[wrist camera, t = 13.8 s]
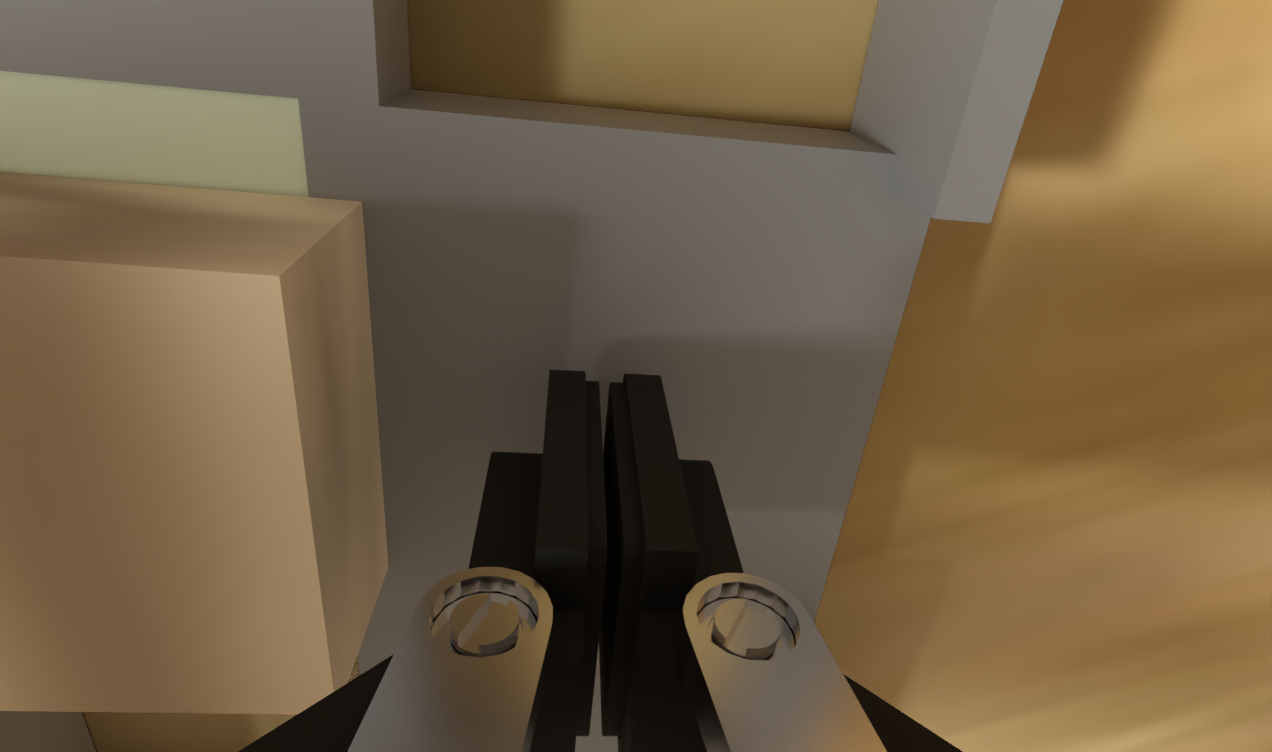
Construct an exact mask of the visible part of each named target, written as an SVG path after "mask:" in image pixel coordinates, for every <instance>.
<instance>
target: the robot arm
mask: <svg viewBox="0 0 1272 752" xmlns="http://www.w3.org/2000/svg"><path fill="white" fill-rule="evenodd" d="M598 645H599V662H600V695H601V726H602V736H617V738H618V752H962V751H961V750H959V749H958V748H956V747H954V746H953V745H951V744H950V743H948V742H947V741H945V740H944V739H942V738H941V737H939V736H938V735H936V734H934V733H933V732H931V731H930V730H928V729H927V728H925V727H924V726H922V725H921V724H919V723H918V722H916V721H914V720H913V719H911V718H910V717H908V716H907V715H905V714H904V713H902V712H901V711H899V710H898V709H896V708H894V707H893V706H891V705H890V704H888V703H887V702H885V701H884V700H882V699H881V698H879V697H878V696H876V695H874V694H873V693H871V692H870V691H868V690H867V689H865V688H864V687H862V686H861V685H859V684H858V683H856V682H855V681H853V680H851V679H850V678H848V677H847V676H845V675H844V674H843V673H842V671H841V669H840V668H839V666H838V664H837V662H836V661H835V659H834V657H833V655H832V653H831V652H830V650H829V648H828V646H827V645H826V643H825V641H824V639H823V638H822V636H821V634H820V632H819V630H818V629H817V627H816V625H815V623H814V622H813V620H812V618H811V616H810V615H809V613H808V611H807V610H806V609H805V608H804V606H803V605H802V604H801V602H800V601H799V600H798V599H797V598H796V597H795V596H794V595H792V594H791V593H790V592H789V591H787V590H786V589H785V588H783V587H782V586H780V585H778V584H776V583H774V582H772V581H770V580H768V579H765V578H762V577H758V576H754V575H750V574H746V573H744V572H743V568H742V565H741V562H740V558H739V555H738V551H737V548H736V544H735V541H734V537H733V534H732V530H731V527H730V523H729V520H728V516H727V513H726V509H725V506H724V502H723V499H722V495H721V492H720V488H719V485H718V481H717V478H716V474H715V471H714V468H713V465H712V463H711V462H710V461H708V460H684V459H679V457H678V453H677V448H676V444H675V439H674V434H673V430H672V425H671V421H670V416H669V411H668V407H667V402H666V397H665V393H664V388H663V384H662V379H661V376H660V375H644V374H625V373H624V377H623V383H620V382H610V385H609V393H608V404H607V415H606V426H605V437H604V448H603V445H602V426H601V407H600V388H599V381H586V374H585V371H570V370H552V369H550V370H549V382H548V395H547V407H546V420H545V433H544V445H543V454H541V453H517V452H492V453H491V456H490V460H489V465H488V471H487V476H486V481H485V486H484V491H483V496H482V502H481V507H480V512H479V517H478V522H477V527H476V532H475V538H474V543H473V548H472V553H471V558H470V563H469V568H468V569H467V570H462V571H459V572H457V573H455V574H452V575H450V576H448V577H446V578H443V579H442V580H441V581H439V582H438V583H437V584H435V585H434V586H433V587H431V588H430V589H429V590H428V591H427V592H426V594H425V595H424V596H423V598H422V599H421V601H420V602H419V603H418V605H417V607H416V609H415V611H414V613H413V615H412V617H411V619H410V622H409V624H408V626H407V628H406V630H405V632H404V634H403V636H402V638H401V640H400V642H399V645H398V647H397V649H396V651H395V653H394V654H393V655H391V656H390V657H388V658H387V659H385V660H384V661H382V662H380V663H379V664H377V665H376V666H374V667H372V668H371V669H369V670H368V671H366V672H364V673H363V674H361V675H360V676H358V677H356V678H355V679H353V680H352V681H350V682H349V683H347V684H345V685H344V686H342V687H341V688H339V689H337V690H336V691H334V692H333V693H331V694H329V695H328V696H326V697H325V698H323V699H321V700H320V701H318V702H317V703H315V704H314V705H312V706H310V707H309V708H307V709H306V710H304V711H302V712H301V713H299V714H298V715H296V716H294V717H293V718H291V719H290V720H288V721H286V722H285V723H283V724H282V725H280V726H279V727H277V728H275V729H274V730H272V731H271V732H269V733H267V734H266V735H264V736H263V737H261V738H259V739H258V740H256V741H255V742H253V743H251V744H250V745H248V746H247V747H245V748H244V749H242V750H240V751H239V752H575V745H576V736H589V733H590V723H591V714H592V704H593V694H594V684H595V674H596V664H597V655H598Z"/></svg>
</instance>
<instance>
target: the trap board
mask: <svg viewBox="0 0 1272 752" xmlns="http://www.w3.org/2000/svg"><path fill="white" fill-rule="evenodd" d="M1062 4H1063V0H879V2H878V6H877V11H876V15H875V20H874V24H873V29H872V33H871V37H870V42H869V46H868V51H867V55H866V60H865V64H864V69H863V73H862V78H861V82H860V86H859V91H858V95H857V100H856V104H855V109H854V113H853V118H852V122H851V127H850V131H841V130H830V129H820V128H810V127H799V126H789V125H778V124H768V123H758V122H747V121H737V120H726V119H716V118H706V117H695V116H685V115H675V114H664V113H654V112H643V111H633V110H623V109H612V108H602V107H592V106H581V105H571V104H560V103H550V102H540V101H529V100H519V99H508V98H498V97H488V96H477V95H467V94H457V93H446V92H436V91H425V90H415V89H411V78H410V53H409V28H408V2H407V0H0V172H9V173H21V174H34V175H46V176H58V177H70V178H82V179H94V180H106V181H118V182H131V183H143V184H155V185H167V186H179V187H191V188H203V189H216V190H228V191H240V192H252V193H264V194H276V195H288V196H301V197H313V198H325V199H337V200H349V201H361V202H362V207H363V221H364V235H365V249H366V263H367V276H368V290H369V304H370V318H371V332H372V345H373V359H374V373H375V387H376V401H377V414H378V428H379V442H380V456H381V470H382V483H383V497H384V511H385V525H386V539H387V552H388V566H389V567H388V570H387V573H386V575H385V578H384V581H383V584H382V587H381V590H380V593H379V596H378V598H377V601H376V604H375V607H374V610H373V613H372V616H371V619H370V621H369V624H368V627H367V630H366V633H365V636H364V639H363V642H362V644H361V647H360V650H359V653H358V664H359V674H360V675H361V674H363V673H364V672H366V671H368V670H369V669H371V668H372V667H374V666H376V665H377V664H379V663H380V662H382V661H384V660H385V659H387V658H388V657H390V656H391V655H393V654H394V653H395V651H396V649H397V647H398V645H399V642H400V640H401V638H402V636H403V634H404V632H405V630H406V628H407V626H408V624H409V622H410V619H411V617H412V615H413V613H414V611H415V609H416V607H417V605H418V603H419V602H420V601H421V599H422V598H423V596H424V595H425V594H426V592H427V591H428V590H429V589H430V588H431V587H433V586H434V585H435V584H437V583H438V582H439V581H441V580H442V579H443V578H446V577H448V576H450V575H452V574H455V573H457V572H459V571H462V570H467V569H468V568H469V563H470V558H471V553H472V548H473V543H474V538H475V532H476V527H477V522H478V517H479V512H480V507H481V502H482V496H483V491H484V486H485V481H486V476H487V471H488V465H489V460H490V456H491V453H492V452H517V453H541V454H543V445H544V433H545V420H546V407H547V395H548V382H549V370H550V369H552V370H570V371H585V374H586V381H599V388H600V407H601V426H602V445H603V448H604V437H605V426H606V415H607V404H608V393H609V385H610V382H620V383H623V377H624V373H625V374H644V375H660V376H661V379H662V384H663V388H664V393H665V397H666V402H667V407H668V411H669V416H670V421H671V425H672V430H673V434H674V439H675V444H676V448H677V453H678V457H679V459H684V460H708V461H710V462H711V463H712V465H713V468H714V471H715V474H716V478H717V481H718V485H719V488H720V492H721V495H722V499H723V502H724V506H725V509H726V513H727V516H728V520H729V523H730V527H731V530H732V534H733V537H734V541H735V544H736V548H737V551H738V555H739V558H740V562H741V565H742V568H743V572H744V573H746V574H750V575H754V576H758V577H762V578H765V579H768V580H770V581H772V582H774V583H776V584H778V585H780V586H782V587H783V588H785V589H786V590H787V591H789V592H790V593H791V594H792V595H794V596H795V597H796V598H797V599H798V600H799V601H800V602H801V604H802V605H803V606H804V608H805V609H806V610H807V611H808V613H809V615H810V616H811V618H812V620H813V622H814V621H815V617H816V614H817V610H818V607H819V604H820V600H821V597H822V593H823V590H824V586H825V583H826V579H827V576H828V572H829V569H830V565H831V562H832V559H833V555H834V552H835V548H836V545H837V541H838V538H839V534H840V531H841V527H842V524H843V521H844V517H845V514H846V510H847V507H848V503H849V500H850V496H851V493H852V489H853V486H854V482H855V479H856V476H857V472H858V469H859V465H860V462H861V458H862V455H863V451H864V448H865V444H866V441H867V437H868V434H869V431H870V427H871V424H872V420H873V417H874V413H875V410H876V406H877V403H878V399H879V396H880V393H881V389H882V386H883V382H884V379H885V375H886V372H887V368H888V365H889V361H890V358H891V354H892V351H893V348H894V344H895V341H896V337H897V334H898V330H899V327H900V323H901V320H902V316H903V313H904V310H905V306H906V303H907V299H908V296H909V292H910V289H911V285H912V282H913V278H914V275H915V271H916V268H917V265H918V261H919V258H920V254H921V251H922V247H923V244H924V240H925V237H926V233H927V230H928V226H929V223H930V220H931V218H933V219H942V220H954V221H966V222H978V223H991V220H992V217H993V214H994V211H995V208H996V205H997V202H998V199H999V196H1000V192H1001V189H1002V186H1003V183H1004V180H1005V177H1006V174H1007V171H1008V168H1009V165H1010V162H1011V159H1012V156H1013V153H1014V150H1015V147H1016V144H1017V141H1018V138H1019V135H1020V132H1021V128H1022V125H1023V122H1024V119H1025V116H1026V113H1027V110H1028V107H1029V104H1030V101H1031V98H1032V95H1033V92H1034V89H1035V86H1036V83H1037V80H1038V77H1039V74H1040V71H1041V68H1042V64H1043V61H1044V58H1045V55H1046V52H1047V49H1048V46H1049V43H1050V40H1051V37H1052V34H1053V31H1054V28H1055V25H1056V22H1057V19H1058V16H1059V13H1060V10H1061V7H1062ZM0 752H96V750H95V747H94V744H93V742H92V739H91V736H90V734H89V731H88V728H87V726H86V723H85V720H84V717H83V715H82V712H49V711H0ZM575 752H618V738H617V736H602V726H601V695H600V662H599V645H598V655H597V664H596V674H595V684H594V694H593V704H592V714H591V723H590V733H589V736H576V745H575Z"/></svg>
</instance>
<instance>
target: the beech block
mask: <svg viewBox="0 0 1272 752" xmlns="http://www.w3.org/2000/svg"><path fill="white" fill-rule="evenodd" d="M388 567H389V566H388V552H387V539H386V525H385V511H384V497H383V483H382V470H381V456H380V442H379V428H378V414H377V401H376V387H375V373H374V359H373V345H372V332H371V318H370V304H369V290H368V276H367V263H366V249H365V235H364V221H363V207H362V202H361V201H349V200H337V199H325V198H313V197H301V196H288V195H276V194H264V193H252V192H240V191H228V190H216V189H203V188H191V187H179V186H167V185H155V184H143V183H131V182H118V181H106V180H94V179H82V178H70V177H58V176H46V175H34V174H21V173H9V172H0V711H49V712H126V713H204V714H281V715H298V714H299V713H301V712H302V711H304V710H306V709H307V708H309V707H310V706H312V705H314V704H315V703H317V702H318V701H320V700H321V699H323V698H325V697H326V696H328V695H329V694H331V693H333V692H334V691H336V690H337V689H339V688H341V687H342V686H344V685H345V684H347V683H348V682H349V679H350V676H351V673H352V670H353V667H354V664H355V662H356V659H357V656H358V653H359V650H360V647H361V644H362V642H363V639H364V636H365V633H366V630H367V627H368V624H369V621H370V619H371V616H372V613H373V610H374V607H375V604H376V601H377V598H378V596H379V593H380V590H381V587H382V584H383V581H384V578H385V575H386V573H387V570H388Z"/></svg>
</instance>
